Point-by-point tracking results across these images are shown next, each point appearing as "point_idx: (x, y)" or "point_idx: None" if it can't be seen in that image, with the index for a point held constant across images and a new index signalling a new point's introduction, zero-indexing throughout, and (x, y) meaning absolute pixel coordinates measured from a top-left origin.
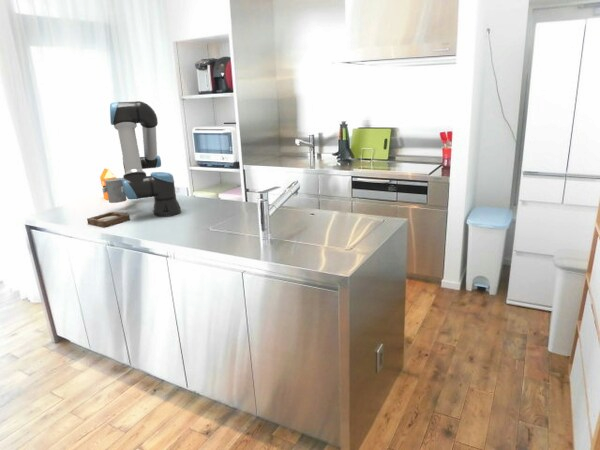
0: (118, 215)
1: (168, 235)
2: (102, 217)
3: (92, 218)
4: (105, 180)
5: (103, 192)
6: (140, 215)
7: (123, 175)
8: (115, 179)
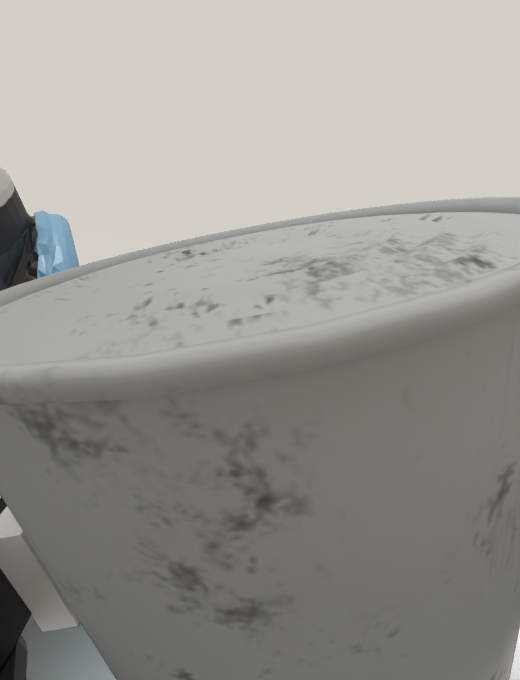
0: None
1: None
2: None
3: None
4: (463, 207)
5: None
6: (81, 643)
7: (9, 176)
8: (242, 279)
